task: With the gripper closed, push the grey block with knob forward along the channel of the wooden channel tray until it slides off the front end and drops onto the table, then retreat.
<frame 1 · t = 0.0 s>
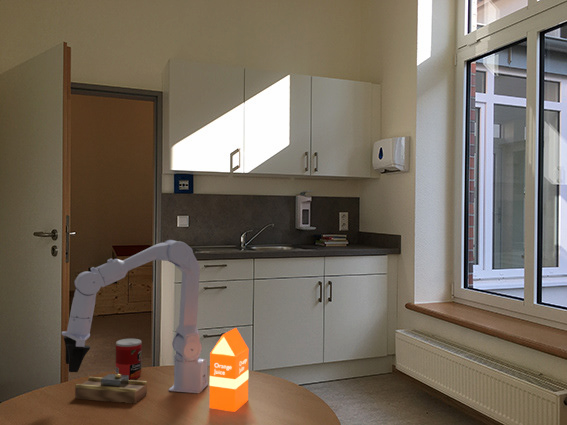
hand: (71, 367, 131), 11 cm above the table, tool pointing down, fingers open, 7 cm apart
orange juice: (229, 404, 135), on the table
grey block with knob: (114, 386, 139), point 3 cm above the table, touching wooden channel tray
canned food: (128, 376, 157), on the table
wooden channel tray: (111, 396, 139), on the table
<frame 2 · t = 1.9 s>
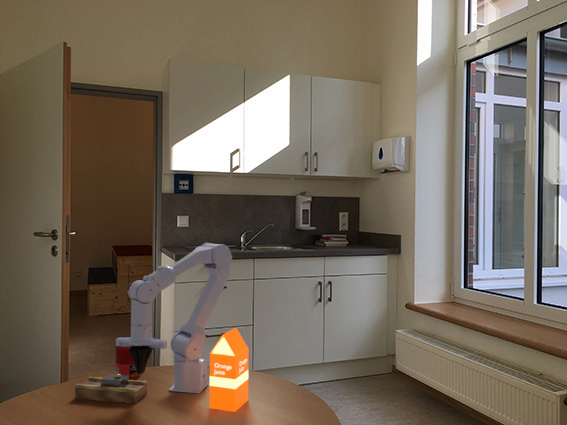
hand: (140, 372, 137), 7 cm above the table, tool pointing down, fingers closed
nothing on the table moved.
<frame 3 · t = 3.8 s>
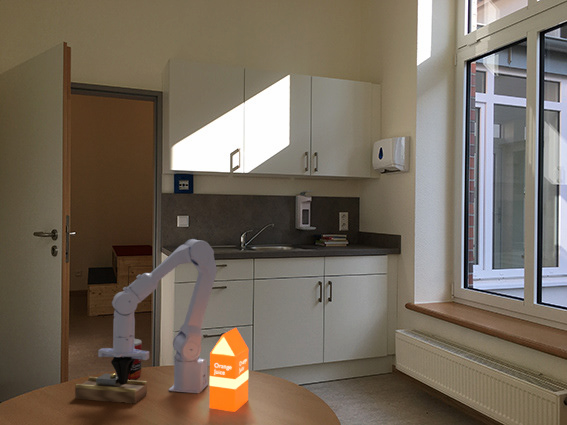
hand: (123, 383, 138), 4 cm above the table, tool pointing down, fingers closed
grey block with knob: (110, 385, 139), point 3 cm above the table, touching wooden channel tray
everything else where it was.
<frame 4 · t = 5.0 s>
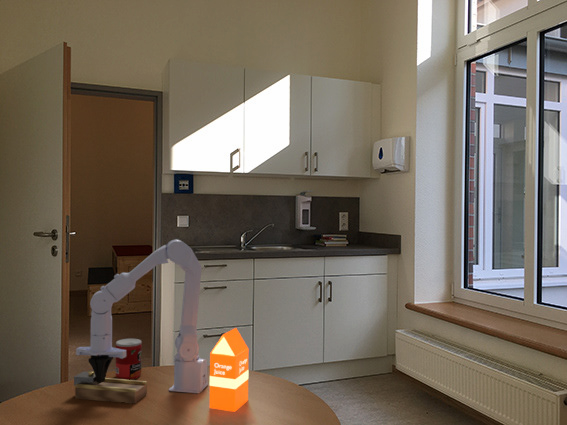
hand: (100, 381, 140), 4 cm above the table, tool pointing down, fingers closed
grey block with knob: (88, 383, 141), point 3 cm above the table, touching gripper
everything else where it was.
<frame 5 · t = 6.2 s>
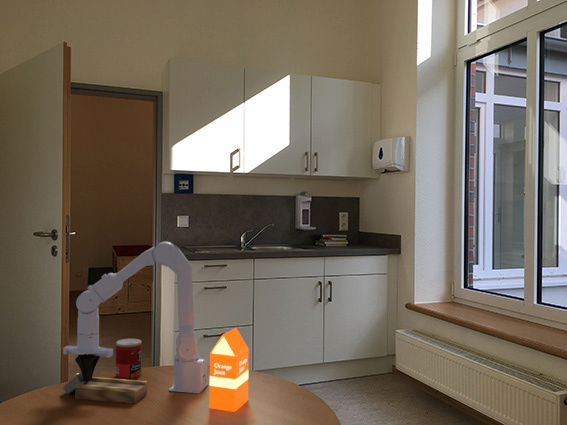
hand: (87, 380, 141), 4 cm above the table, tool pointing down, fingers closed
grey block with knob: (79, 386, 142), point 2 cm above the table, tilted 41°, touching gripper
everything else where it was.
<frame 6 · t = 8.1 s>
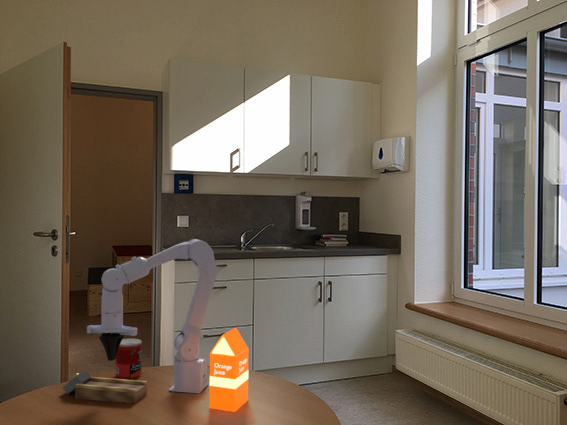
hand: (111, 359, 139), 10 cm above the table, tool pointing down, fingers closed
grey block with knob: (79, 386, 142), point 2 cm above the table, tilted 40°, touching wooden channel tray
everything else where it was.
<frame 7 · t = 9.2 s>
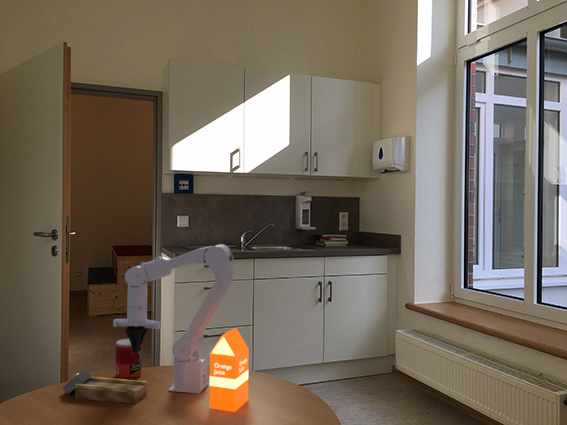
hand: (136, 351, 147), 10 cm above the table, tool pointing down, fingers closed
nothing on the table moved.
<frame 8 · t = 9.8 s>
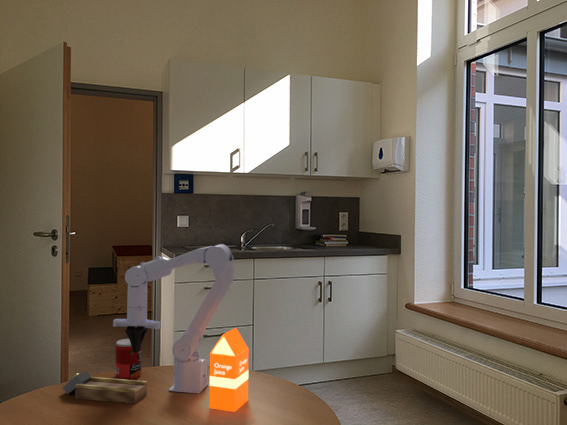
hand: (136, 351, 147), 10 cm above the table, tool pointing down, fingers closed
nothing on the table moved.
at the end: grey block with knob inside the target area (7.5 cm from its centre), point 1.9 cm above the table; grey block with knob moved 11.4 cm from its start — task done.
